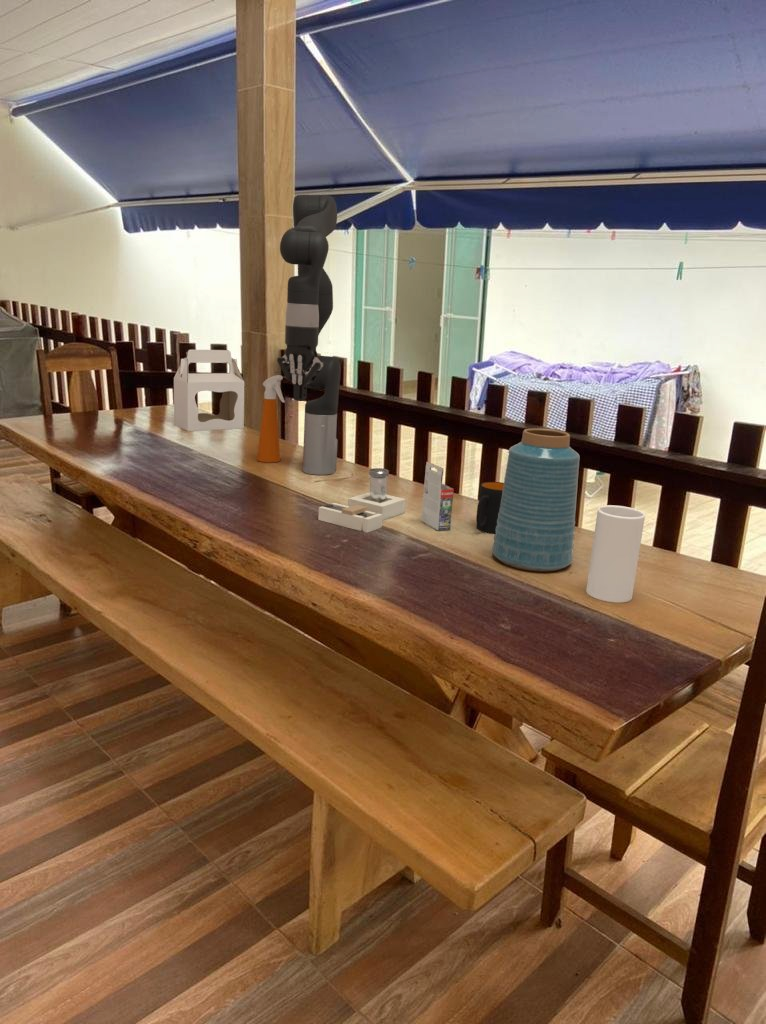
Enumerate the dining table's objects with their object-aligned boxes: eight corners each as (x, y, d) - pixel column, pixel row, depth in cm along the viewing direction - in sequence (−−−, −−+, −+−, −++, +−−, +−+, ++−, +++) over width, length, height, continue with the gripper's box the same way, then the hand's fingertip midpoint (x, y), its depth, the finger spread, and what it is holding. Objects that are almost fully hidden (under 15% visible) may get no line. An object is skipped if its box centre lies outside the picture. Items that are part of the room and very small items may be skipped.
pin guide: (333, 515, 184) (334, 499, 183) (381, 527, 177) (383, 510, 176) (318, 519, 179) (319, 503, 178) (367, 532, 172) (368, 515, 171)
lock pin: (329, 515, 183) (329, 504, 182) (366, 524, 177) (367, 513, 176) (321, 517, 180) (321, 506, 180) (358, 527, 175) (359, 516, 174)
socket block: (371, 505, 195) (372, 491, 194) (404, 513, 190) (405, 499, 189) (347, 512, 187) (348, 498, 186) (381, 521, 181) (382, 506, 180)
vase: (578, 557, 165) (595, 432, 158) (562, 579, 150) (580, 443, 143) (504, 542, 171) (517, 422, 164) (481, 563, 157) (494, 432, 150)
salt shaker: (373, 507, 191) (374, 467, 188) (390, 509, 189) (391, 469, 186) (365, 511, 187) (365, 471, 184) (382, 514, 185) (383, 473, 182)
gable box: (229, 422, 299) (230, 348, 291) (244, 428, 288) (245, 351, 281) (173, 425, 286) (172, 347, 278) (187, 431, 276) (186, 351, 268)
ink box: (434, 520, 185) (439, 460, 181) (451, 530, 178) (456, 467, 174) (420, 521, 183) (425, 460, 179) (437, 531, 176) (442, 468, 172)
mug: (460, 531, 178) (464, 487, 175) (488, 522, 187) (493, 480, 184) (490, 540, 173) (495, 494, 170) (518, 530, 182) (523, 487, 179)
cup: (580, 585, 148) (591, 504, 143) (621, 586, 149) (634, 506, 144) (595, 602, 140) (607, 516, 136) (639, 603, 141) (652, 518, 136)
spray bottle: (272, 466, 230) (274, 376, 223) (252, 459, 238) (254, 372, 231) (291, 464, 235) (294, 376, 228) (271, 457, 243) (274, 371, 235)
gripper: (335, 326, 177) (332, 402, 181) (290, 322, 184) (288, 395, 188) (314, 326, 171) (311, 405, 175) (269, 322, 178) (267, 398, 182)
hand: (299, 400), depth 182 cm, fingers closed
